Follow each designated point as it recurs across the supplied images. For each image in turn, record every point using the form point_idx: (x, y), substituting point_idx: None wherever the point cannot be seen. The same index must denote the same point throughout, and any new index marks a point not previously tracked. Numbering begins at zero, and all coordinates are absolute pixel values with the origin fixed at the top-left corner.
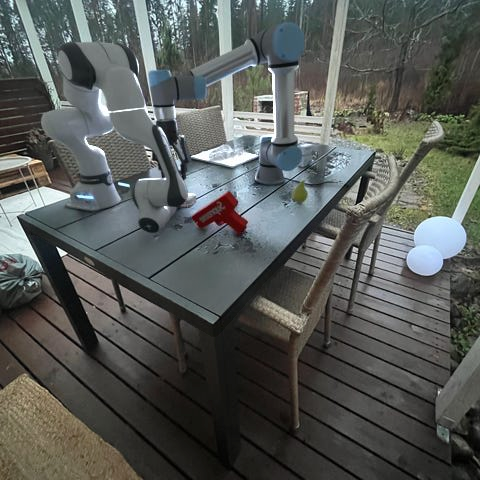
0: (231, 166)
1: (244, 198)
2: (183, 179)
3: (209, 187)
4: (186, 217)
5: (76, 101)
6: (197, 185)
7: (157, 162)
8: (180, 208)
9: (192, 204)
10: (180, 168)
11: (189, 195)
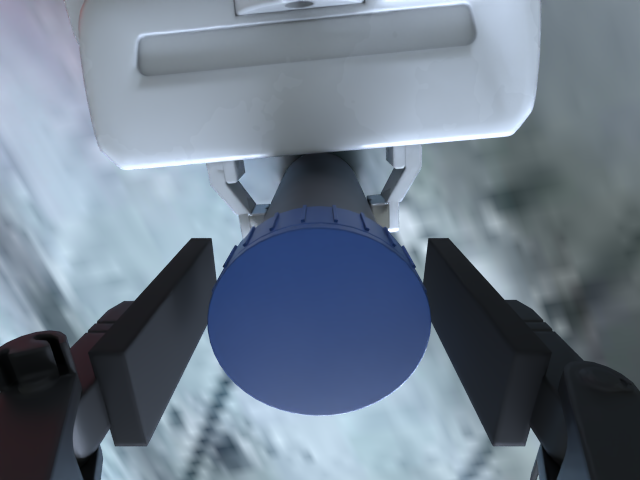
0: None
1: None
2: (189, 242)
3: (249, 435)
4: None
5: None
6: (321, 445)
7: (600, 367)
8: (292, 163)
9: (65, 3)
10: (231, 375)
11: (133, 116)
